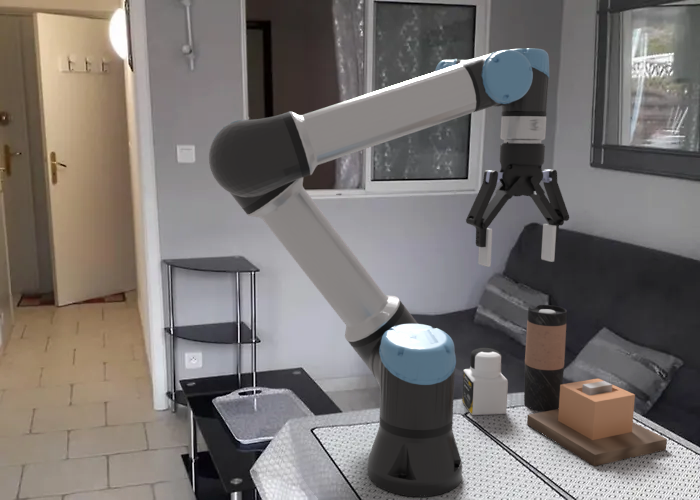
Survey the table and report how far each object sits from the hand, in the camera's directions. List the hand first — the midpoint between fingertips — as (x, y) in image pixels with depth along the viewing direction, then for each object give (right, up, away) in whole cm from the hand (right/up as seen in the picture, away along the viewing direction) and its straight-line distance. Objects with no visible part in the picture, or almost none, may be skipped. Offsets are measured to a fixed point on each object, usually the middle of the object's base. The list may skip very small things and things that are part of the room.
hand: (516, 263), depth 125 cm
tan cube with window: (+15, -30, +3) cm, 33 cm away
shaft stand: (+15, -32, +3) cm, 35 cm away
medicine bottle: (-3, -30, +16) cm, 34 cm away
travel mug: (+9, -29, +18) cm, 36 cm away
